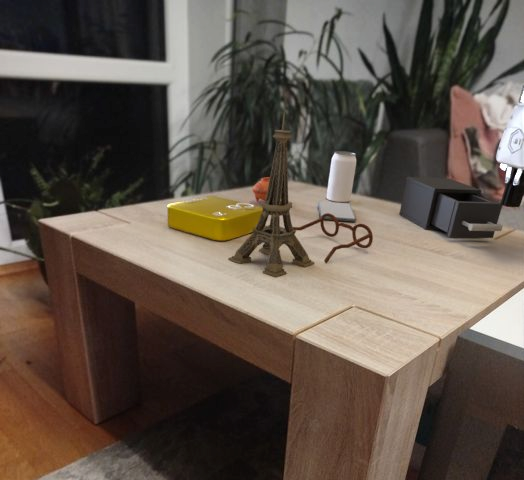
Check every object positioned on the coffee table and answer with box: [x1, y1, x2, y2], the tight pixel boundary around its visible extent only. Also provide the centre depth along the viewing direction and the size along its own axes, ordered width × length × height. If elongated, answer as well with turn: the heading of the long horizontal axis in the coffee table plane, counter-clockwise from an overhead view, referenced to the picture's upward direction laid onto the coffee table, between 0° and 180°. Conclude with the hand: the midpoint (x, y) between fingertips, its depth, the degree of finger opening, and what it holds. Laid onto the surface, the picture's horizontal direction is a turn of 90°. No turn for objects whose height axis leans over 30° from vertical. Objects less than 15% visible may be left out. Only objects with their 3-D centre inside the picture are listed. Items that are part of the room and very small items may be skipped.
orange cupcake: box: [252, 176, 274, 203], centre depth 124 cm, size 8×8×7 cm
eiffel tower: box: [227, 100, 316, 278], centre depth 80 cm, size 11×11×25 cm
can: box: [326, 150, 357, 203], centre depth 133 cm, size 6×6×12 cm
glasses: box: [293, 213, 374, 264], centre depth 95 cm, size 13×13×5 cm
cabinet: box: [399, 176, 482, 231], centre depth 119 cm, size 14×12×9 cm
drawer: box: [430, 192, 503, 239], centre depth 109 cm, size 17×10×7 cm, turn 12°
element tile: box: [166, 195, 263, 242], centre depth 102 cm, size 15×15×5 cm
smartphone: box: [317, 200, 357, 223], centre depth 121 cm, size 8×1×15 cm
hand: (509, 205), depth 95 cm, fingers closed
